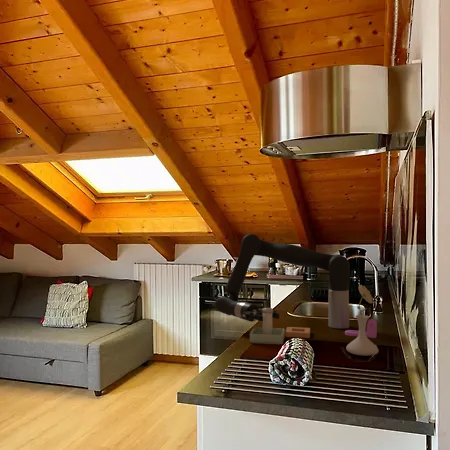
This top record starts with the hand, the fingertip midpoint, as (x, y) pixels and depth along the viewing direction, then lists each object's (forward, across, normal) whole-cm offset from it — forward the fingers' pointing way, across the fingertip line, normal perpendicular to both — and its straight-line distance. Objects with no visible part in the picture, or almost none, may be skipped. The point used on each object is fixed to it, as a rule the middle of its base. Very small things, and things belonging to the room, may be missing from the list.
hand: (270, 317), depth 185 cm
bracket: (+13, +39, +10) cm, 42 cm away
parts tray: (-2, 0, +10) cm, 10 cm away
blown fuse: (-2, 0, +9) cm, 9 cm away
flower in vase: (+33, +16, +10) cm, 38 cm away
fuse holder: (-2, +17, +10) cm, 20 cm away
